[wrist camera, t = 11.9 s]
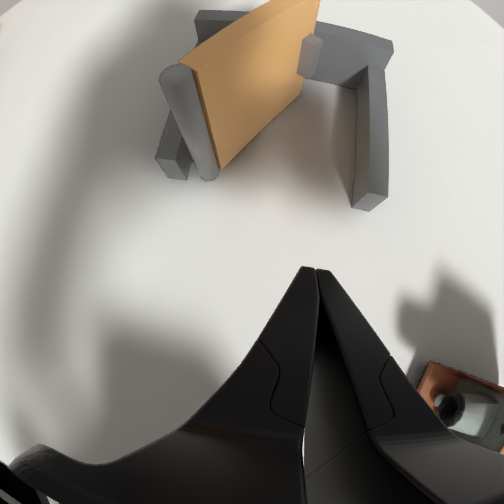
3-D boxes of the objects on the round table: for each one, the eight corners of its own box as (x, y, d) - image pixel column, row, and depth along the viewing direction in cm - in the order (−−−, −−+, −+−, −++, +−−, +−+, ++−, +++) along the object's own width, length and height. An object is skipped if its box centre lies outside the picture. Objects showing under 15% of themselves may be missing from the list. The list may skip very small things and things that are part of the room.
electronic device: (421, 356, 17) (495, 380, 9) (499, 384, 16) (563, 402, 9) (393, 416, 16) (453, 465, 9) (477, 433, 16) (534, 464, 8)
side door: (309, 99, 19) (336, -3, 10) (218, 192, 18) (187, 102, 9) (288, 85, 19) (303, -18, 10) (195, 173, 18) (152, 79, 9)
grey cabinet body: (369, 211, 18) (403, 184, 13) (168, 177, 19) (143, 141, 14) (370, 72, 20) (390, 31, 15) (211, 46, 20) (204, 1, 15)
